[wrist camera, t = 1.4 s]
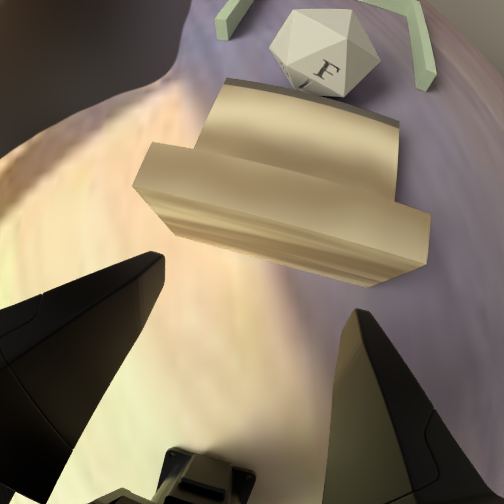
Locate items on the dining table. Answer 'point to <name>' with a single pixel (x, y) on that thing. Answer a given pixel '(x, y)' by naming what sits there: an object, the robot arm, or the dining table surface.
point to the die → (324, 51)
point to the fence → (400, 3)
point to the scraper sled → (290, 185)
